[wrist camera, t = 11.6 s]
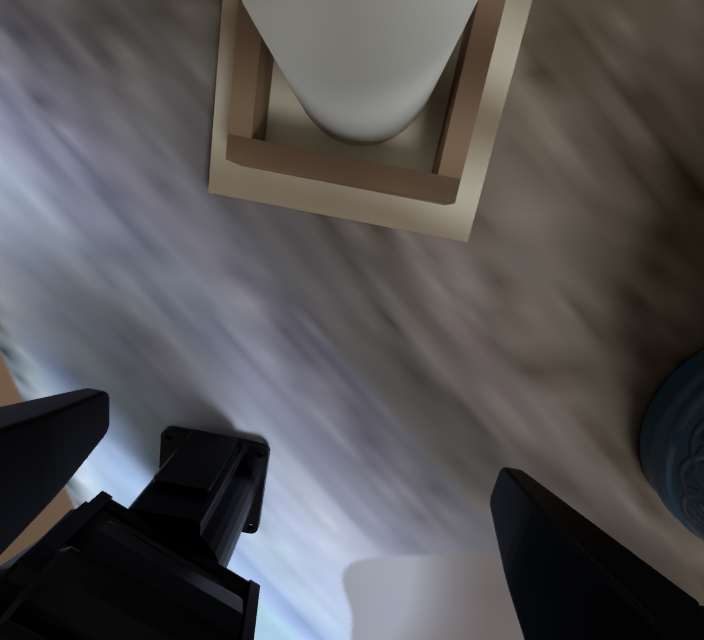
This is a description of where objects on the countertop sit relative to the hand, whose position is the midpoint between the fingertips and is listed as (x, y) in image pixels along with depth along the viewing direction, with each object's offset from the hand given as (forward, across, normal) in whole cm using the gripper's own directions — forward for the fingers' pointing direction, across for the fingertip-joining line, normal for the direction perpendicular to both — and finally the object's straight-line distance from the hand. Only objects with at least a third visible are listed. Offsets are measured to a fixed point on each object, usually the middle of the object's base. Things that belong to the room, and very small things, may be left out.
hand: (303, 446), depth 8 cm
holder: (+12, +1, -12) cm, 17 cm away
